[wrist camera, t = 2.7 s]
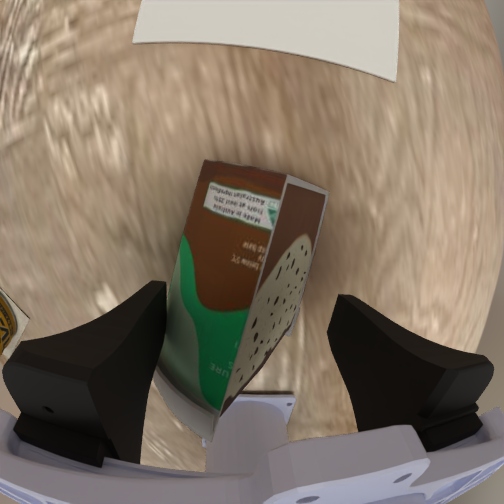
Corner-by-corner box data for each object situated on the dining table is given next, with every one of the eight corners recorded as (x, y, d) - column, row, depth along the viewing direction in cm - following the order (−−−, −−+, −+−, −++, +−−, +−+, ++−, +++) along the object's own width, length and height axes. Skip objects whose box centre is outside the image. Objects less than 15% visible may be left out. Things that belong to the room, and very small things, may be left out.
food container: (104, 142, 9) (91, 376, 11) (271, 167, 7) (204, 451, 9) (245, 172, 20) (216, 303, 23) (332, 193, 18) (292, 333, 21)
